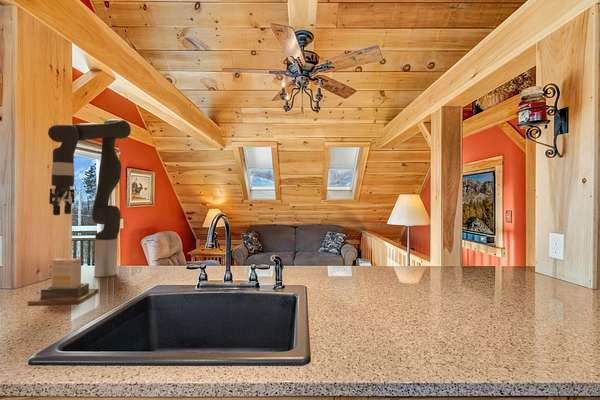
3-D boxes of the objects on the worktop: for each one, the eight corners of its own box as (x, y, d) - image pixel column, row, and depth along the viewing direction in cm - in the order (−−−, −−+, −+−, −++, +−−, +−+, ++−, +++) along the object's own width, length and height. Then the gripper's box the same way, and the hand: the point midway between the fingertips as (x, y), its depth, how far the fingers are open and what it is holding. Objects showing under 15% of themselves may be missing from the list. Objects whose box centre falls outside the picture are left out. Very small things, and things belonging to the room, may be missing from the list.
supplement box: (81, 293, 130) (82, 258, 130) (72, 296, 125) (73, 260, 125) (60, 292, 131) (61, 257, 131) (50, 295, 126) (51, 259, 126)
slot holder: (54, 292, 134) (54, 281, 134) (98, 291, 137) (98, 281, 137) (27, 304, 119) (28, 292, 119) (78, 304, 121) (78, 292, 121)
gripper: (62, 175, 146) (61, 213, 147) (42, 172, 132) (41, 215, 132) (81, 175, 147) (80, 213, 148) (63, 173, 133) (63, 215, 134)
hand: (62, 214), depth 140 cm, fingers open, 8 cm apart
